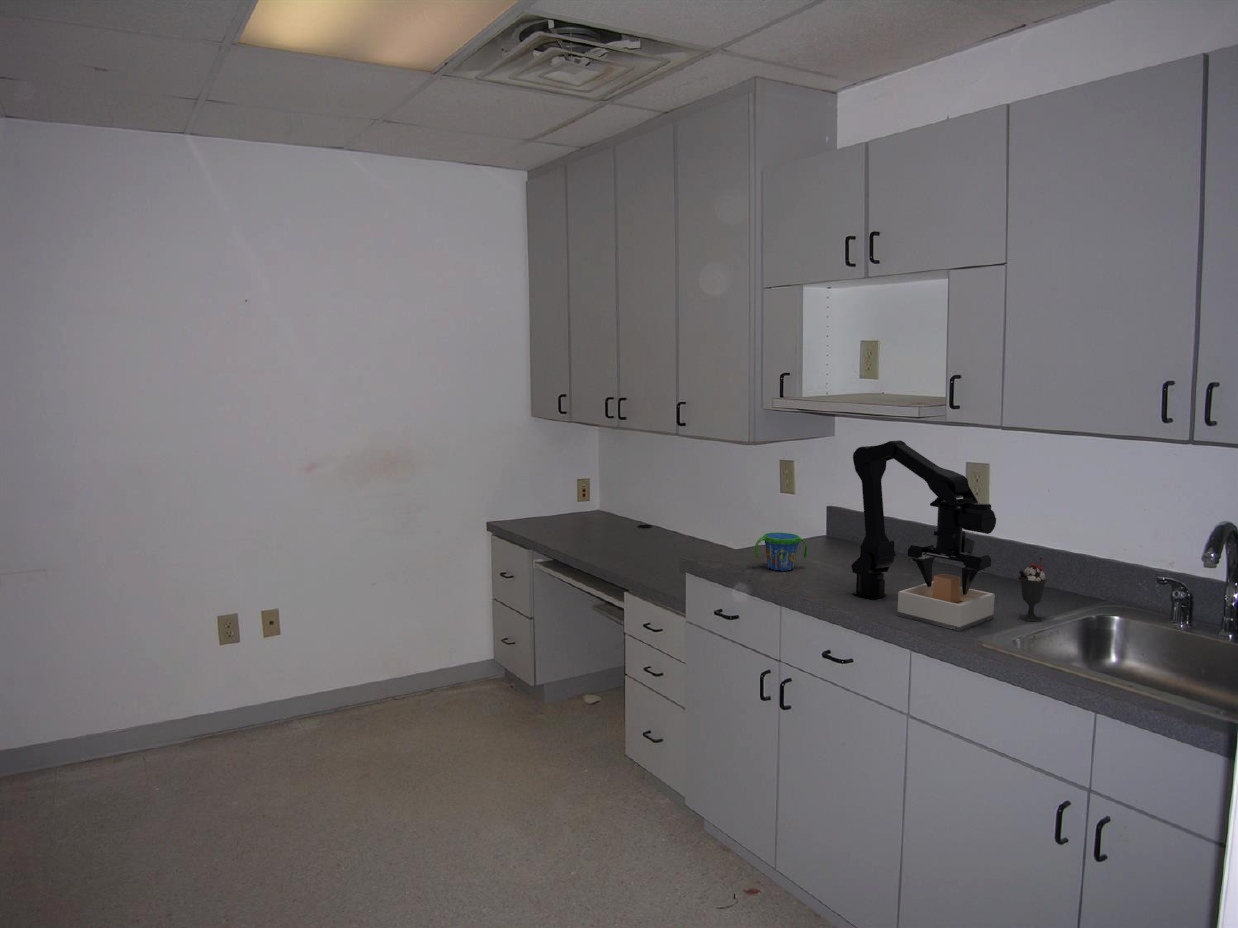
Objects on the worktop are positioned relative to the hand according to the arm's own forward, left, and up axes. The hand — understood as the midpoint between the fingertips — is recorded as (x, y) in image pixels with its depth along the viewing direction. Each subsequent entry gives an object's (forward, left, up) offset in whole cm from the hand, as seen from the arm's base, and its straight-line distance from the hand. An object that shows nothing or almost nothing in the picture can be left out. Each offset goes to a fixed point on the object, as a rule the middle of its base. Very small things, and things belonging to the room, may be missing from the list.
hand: (946, 590), depth 209 cm
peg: (0, 0, -6) cm, 6 cm away
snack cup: (-57, +7, -7) cm, 58 cm away
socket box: (0, 0, -7) cm, 7 cm away
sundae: (+14, +14, -7) cm, 21 cm away
